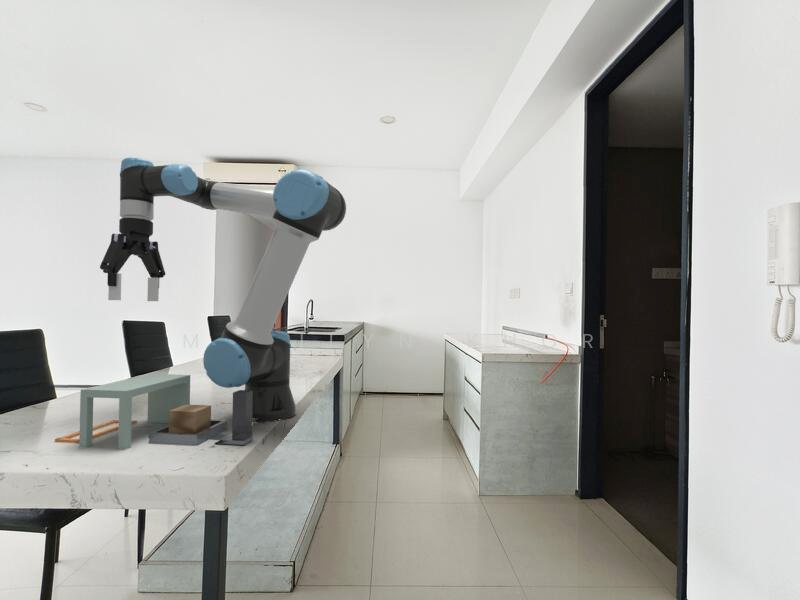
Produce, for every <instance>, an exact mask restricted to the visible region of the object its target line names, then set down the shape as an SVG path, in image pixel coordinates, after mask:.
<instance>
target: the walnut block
mask: <svg viewBox="0 0 800 600" xmlns="http://www.w3.org/2000/svg"><path fill="white" fill-rule="evenodd" d="M211 420H212V405H205V404H203V405H202V404H190V405H184V406H181V407H178V408H176V409H173V410H170V411H169V423H168V425H169V433H182V434H197V433H199V432H201V431H203V430H205V429H207V428H209V427H211Z"/></svg>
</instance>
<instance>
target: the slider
mask: <svg viewBox="0 0 800 600" xmlns="http://www.w3.org/2000/svg"><path fill="white" fill-rule="evenodd" d="M252 403H253V390H245V389H239V390H236V391H233V392H232V420H231V421H232V423H231V424H232V425H231V426H232V429H231V433H229V434H227V433H226V434H225V433H224V432H226V431H227V430H229V429H228V420H227V419H226V420H225V419H211V427H209V428H207V429H205V430H203V431H201V432H199V433H197V434H182V433H169V424H168V425H166V426H165V425H164V426H163V427H161V428H159V429H156V430H153V431H151V432H149V433H148V444H158V445H159V444H161V445H162V444H163V445H180V446H200V445H201V444H203V443H205V442H207V441H209V440H210V441H216V442H214V444H215V445H216V444H218V445H221V444H222V445H237V446H238V445H239V446H245V445H246V444H248V443H250V442H251V441H252V440H254V435H253V418H252ZM223 433H224V434H223Z"/></svg>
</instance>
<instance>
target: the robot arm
mask: <svg viewBox="0 0 800 600" xmlns="http://www.w3.org/2000/svg"><path fill="white" fill-rule="evenodd" d="M119 179H120V180H119V182H120V183H119V184H120V185H119V187H120V188H119V192H120V194H119V201H120V202H119V217H121V218H120V219H119V225H118V230H119V231H118V232H119V233H112V234H111V238H110V243H109V246H108V248H107V249H106V252H105V254H104V256H103V259H102V261H101V263H100V265H99V268H100V270H102V271H103V273H104V274H107V281H106V282H107V287H108V297H107V299H108V301H122V273H119V272H120V271H121V269H122V268H123V267H124V265H125V264H126V262H127V261H128V259H129V258H130V257H131V256H135V257H136V256H137V257H138V258H139V259H140V260H141V261H142V263H143V265H144V268H145V269H146V271H147V273H148V274H149V276H150V277H147V300H146V301H147V302H159V288H160V279H161V278H164V277H165V276H166V271H165V268H164V264H163V261H162V258H161V254H160V250H159V242H158V241H150V237H151V236H153V234H154V223H153V220H154V210H155V209H154V205H155V203H154V201H155V200H154V199H155V197H173V198H175V199H179V200H181V201H184V202H186V203H190V204H191V205H192V204H193V205H195V206H198V207H200V208H202V209H206V210H211V211H215V210H216V211H217V210H223V211H230V212H237V213H242V214H249V215H255V216H261V217H269V218H271V220H272V223H273V225H274V230H273V233H272V235H271V238H270V240H269V241H268V245H267V247H266V249H265V252H264V253H263V254H264V255H263V256H262V258H261V261H260V263H259V265H258V268H257V270H256V272H255V275H254V277H253V280H252V283H251V284H250V287H249V288H248V290H247V293H246V296H245V298H244V300H243V303H242V305H241V307H240V310H239V312H238V315H237V316H236V319H235V320H232V321H230V322H228V323H226V326H225V328H224V330H223V332H222V333H221V337H218V338H217V339H214V340H213V341H211V342H210V343H209V344H208V345H207V346H206V348H205V350H204V352H203V359H202V362H203V368H204V370H205V371H206V375H207V377H208V378H209V379H210V381H211V382H213V383H214V384H215V385H217V386H219V387H221V388H227V389H231V388H240V387H243V386H244V390H253V403H252V419H255V420H252V423H266V422H265V421H270V422H275V421H274V420H278V421H280V420H279V419H283V420H287V419H290V418H292V417H294V416H295V415H296V411H297V408H296V407H297V406H296V401H295V400H294V397H293V393H292V390H291V386H290V377H291V376H290V375H291V373H290V372H291V346H292V345H291V338H290V334H289V333H288V332H286V331H279V330H273V328H274V325H275V324H276V321H277V319H278V317H279V314H280V312H281V310H282V308H283V305H284V302H286V299H287V296H288V294H289V291H291V290H290V289H291V287H292V284H293V283H294V281H295V278H296V275H297V274H298V272H299V269H300V266H301V265H302V262H303V260H304V257H305V255H306V253H307V251H308V249H309V248H308V247H309V246H310V244H311V243H314V242H316V241H319V239H320V237H321V234H322V233H323V231H324V232H327V231H331V230H333V229H335V228H337V227H338V226H339V225H340V224H341V223H342V222H343V221H344V218H345V217H346V213H347V204H346V200H345V198H344V195H343V194H342V193H341V192H340V191H339V189H337V188H336V187H334V186H333V185H332V184H330V183H329V182H328V181H327V180H325V178H324V177H323V176H320V175H319V174H317V173H315V172H313V171H311V170H307V169H301V168H300V169H294V170H292V171H288V172H286V173H285V174H284V175H283V176H281V177H280V178H279V179H278V181H277V182H276V184H275V186H274V189H273V188H266V187H259V186H249V185H243V184H237V183H229V182H223V181H215V180H214V181H213V180H208V179H207V180H206V179H203V178H201V177H200V176H197V173H196V172H195V170H193V168H192V167H191V166H189V165H187V164H177V163H172V164H171V163H170V164H165V165H155V164H154V163H153V162H152V161H151V160H148V159H146V158H141V157H131V156H130V157H125V158H123V159H122V160H121V164H120V171H119Z"/></svg>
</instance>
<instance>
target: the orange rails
mask: <svg viewBox="0 0 800 600" xmlns="http://www.w3.org/2000/svg"><path fill="white" fill-rule="evenodd" d="M137 423H138V420H132V419H131V426H132V425H136V424H137ZM114 424H119V419H112V420H110V421H106V422H104V423H101V424H97V425H93V431H96V430H99V429H102V428H104V427H108V426H111V425H114ZM116 431H119V425H117V426H113V427H110V428H108V429H106V430H102V431H99V432H96V433H94V434H93V435H92V440H94V439H96V438H99V437H102V436H105V435H107V434H110V433H113V432H116ZM78 436H80V430H79V431H76V432H73V433H70V434H67V435H63V436H61V437H57V438H55V439H54V442H55V443H65V444H67V443H69V444H71V443H72V444H79V438H77V437H78Z"/></svg>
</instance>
